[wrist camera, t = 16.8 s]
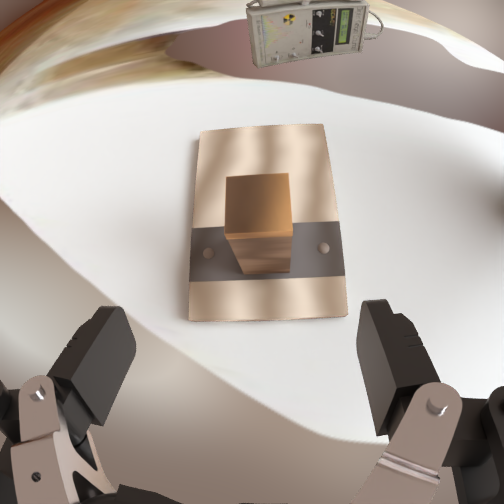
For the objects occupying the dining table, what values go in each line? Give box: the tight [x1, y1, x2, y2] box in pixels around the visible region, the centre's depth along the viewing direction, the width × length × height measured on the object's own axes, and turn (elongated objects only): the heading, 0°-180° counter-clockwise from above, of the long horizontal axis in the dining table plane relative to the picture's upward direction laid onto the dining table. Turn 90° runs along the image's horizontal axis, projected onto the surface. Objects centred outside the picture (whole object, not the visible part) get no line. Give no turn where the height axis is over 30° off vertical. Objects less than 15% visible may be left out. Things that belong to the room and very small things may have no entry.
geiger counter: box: [246, 0, 384, 68], centre depth 38 cm, size 14×6×25 cm
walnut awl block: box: [224, 173, 293, 275], centre depth 27 cm, size 5×5×11 cm
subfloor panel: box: [188, 124, 348, 322], centre depth 35 cm, size 16×24×2 cm, turn 1°
